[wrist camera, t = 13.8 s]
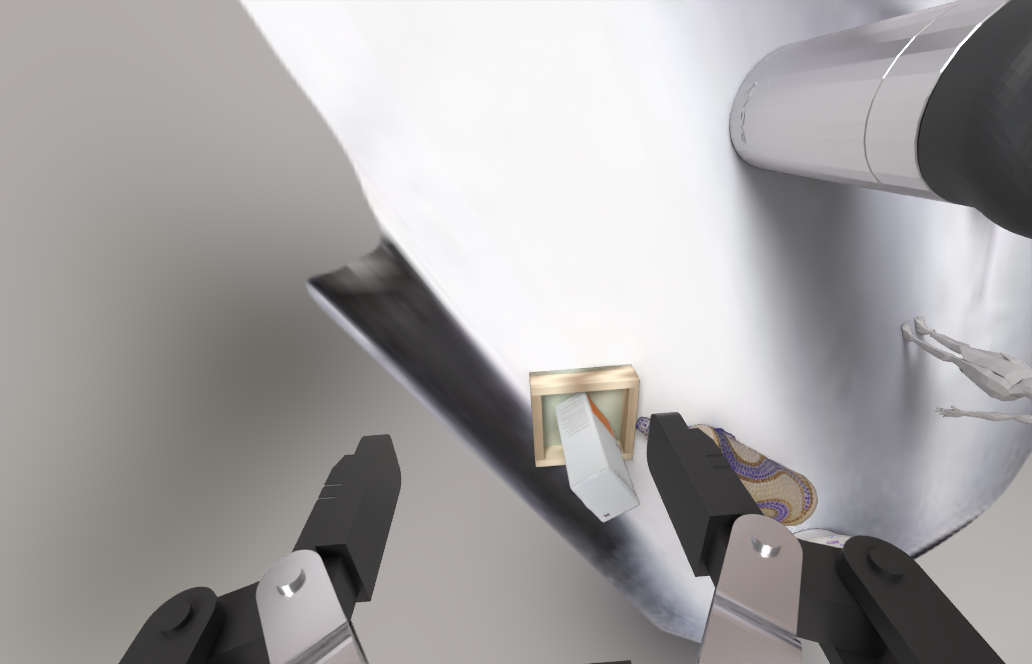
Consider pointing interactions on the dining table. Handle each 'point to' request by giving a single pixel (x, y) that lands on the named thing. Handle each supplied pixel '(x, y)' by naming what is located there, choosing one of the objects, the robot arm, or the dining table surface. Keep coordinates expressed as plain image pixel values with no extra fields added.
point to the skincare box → (594, 458)
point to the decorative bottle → (762, 478)
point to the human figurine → (980, 372)
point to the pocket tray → (606, 389)
